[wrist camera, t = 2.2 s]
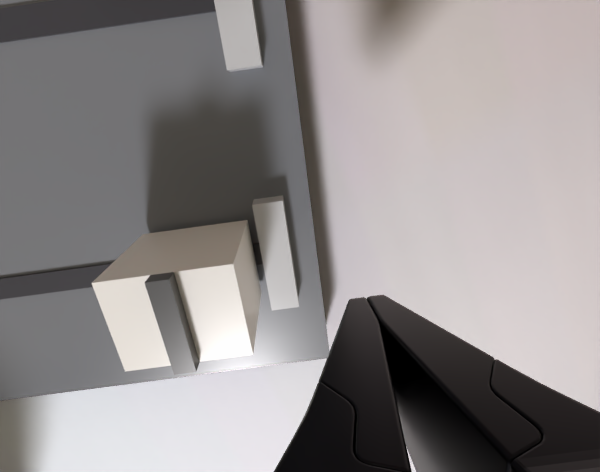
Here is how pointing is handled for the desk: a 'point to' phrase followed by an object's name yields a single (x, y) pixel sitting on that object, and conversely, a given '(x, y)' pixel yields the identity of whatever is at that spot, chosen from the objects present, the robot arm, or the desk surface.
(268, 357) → the console
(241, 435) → the desk surface
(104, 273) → the white fader
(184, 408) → the desk surface
